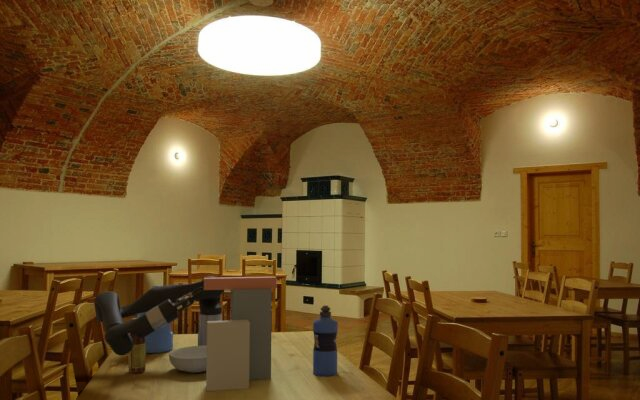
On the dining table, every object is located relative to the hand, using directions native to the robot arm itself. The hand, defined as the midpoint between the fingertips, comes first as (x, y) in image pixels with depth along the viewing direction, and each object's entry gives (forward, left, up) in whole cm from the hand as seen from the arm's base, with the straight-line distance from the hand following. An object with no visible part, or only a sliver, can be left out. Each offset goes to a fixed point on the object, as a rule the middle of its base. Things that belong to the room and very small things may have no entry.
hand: (203, 290), depth 194 cm
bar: (+10, +9, 0) cm, 13 cm away
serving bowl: (-11, +10, -32) cm, 35 cm away
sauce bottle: (-29, -3, -32) cm, 43 cm away
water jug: (-49, +27, -32) cm, 64 cm away
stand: (+13, +4, -32) cm, 34 cm away
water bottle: (+35, +28, -32) cm, 55 cm away
